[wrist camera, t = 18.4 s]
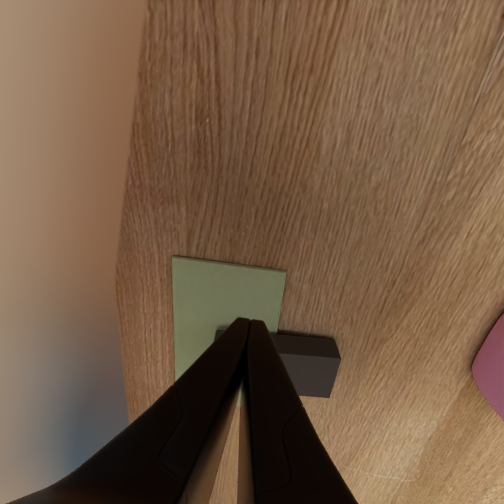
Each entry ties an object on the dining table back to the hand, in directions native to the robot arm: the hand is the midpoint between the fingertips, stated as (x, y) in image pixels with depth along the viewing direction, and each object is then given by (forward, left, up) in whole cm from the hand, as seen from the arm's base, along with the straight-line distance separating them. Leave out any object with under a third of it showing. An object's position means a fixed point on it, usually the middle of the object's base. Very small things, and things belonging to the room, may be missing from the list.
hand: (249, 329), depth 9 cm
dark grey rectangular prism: (-10, -8, -11) cm, 17 cm away
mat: (-10, -8, -13) cm, 18 cm away
